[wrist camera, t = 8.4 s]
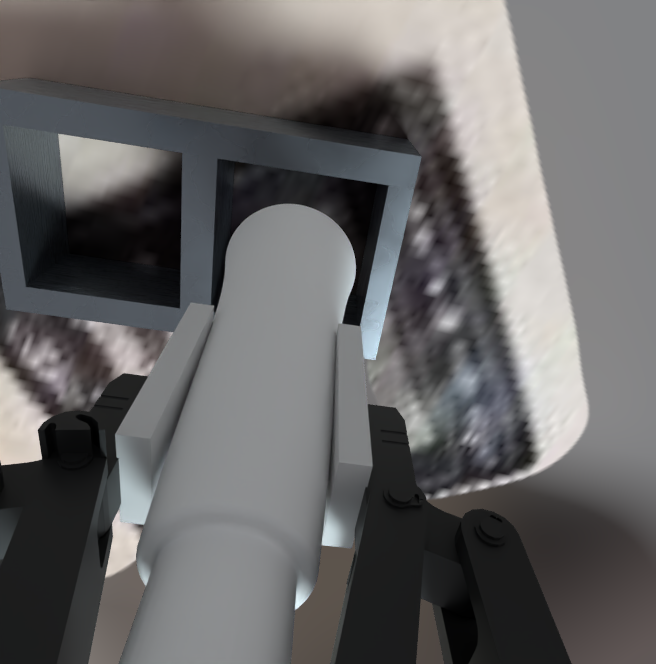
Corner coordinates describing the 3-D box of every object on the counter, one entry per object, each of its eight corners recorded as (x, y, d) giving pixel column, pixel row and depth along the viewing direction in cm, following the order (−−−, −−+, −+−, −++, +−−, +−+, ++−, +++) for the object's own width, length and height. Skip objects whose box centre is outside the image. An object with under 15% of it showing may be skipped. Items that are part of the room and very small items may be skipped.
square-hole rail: (51, 273, 32) (6, 309, 28) (29, 77, 27) (-32, 83, 22) (370, 318, 33) (375, 359, 29) (408, 139, 28) (421, 156, 24)
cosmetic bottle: (220, 311, 25) (-149, 1144, 6) (233, 189, 23) (-378, 1034, 3) (340, 334, 26) (350, 1168, 7) (369, 217, 23) (533, 1094, 4)
